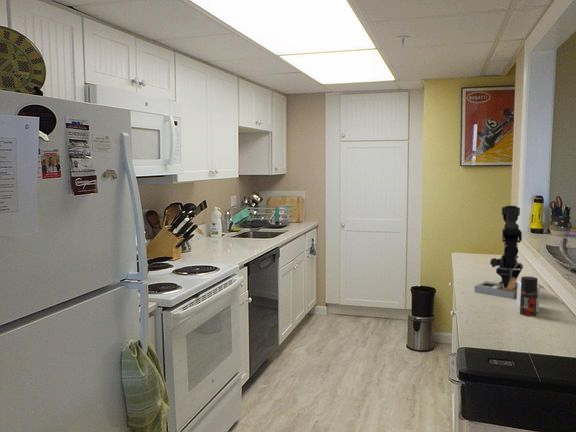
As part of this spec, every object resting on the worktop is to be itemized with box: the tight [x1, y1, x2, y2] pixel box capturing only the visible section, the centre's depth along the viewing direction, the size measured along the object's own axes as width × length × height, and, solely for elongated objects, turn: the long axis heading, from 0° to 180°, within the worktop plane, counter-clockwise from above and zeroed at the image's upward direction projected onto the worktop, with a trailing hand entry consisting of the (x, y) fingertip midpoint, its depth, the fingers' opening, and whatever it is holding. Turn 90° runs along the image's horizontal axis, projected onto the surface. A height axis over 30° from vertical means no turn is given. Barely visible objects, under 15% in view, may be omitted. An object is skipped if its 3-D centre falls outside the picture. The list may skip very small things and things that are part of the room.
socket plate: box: [474, 280, 517, 299], centre depth 245 cm, size 14×18×4 cm
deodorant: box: [519, 276, 538, 317], centre depth 208 cm, size 6×6×15 cm
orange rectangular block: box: [503, 277, 516, 290], centre depth 242 cm, size 4×4×8 cm
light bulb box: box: [516, 280, 541, 313], centre depth 217 cm, size 11×7×11 cm, turn 168°
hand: (509, 286), depth 242 cm, fingers open, 9 cm apart
